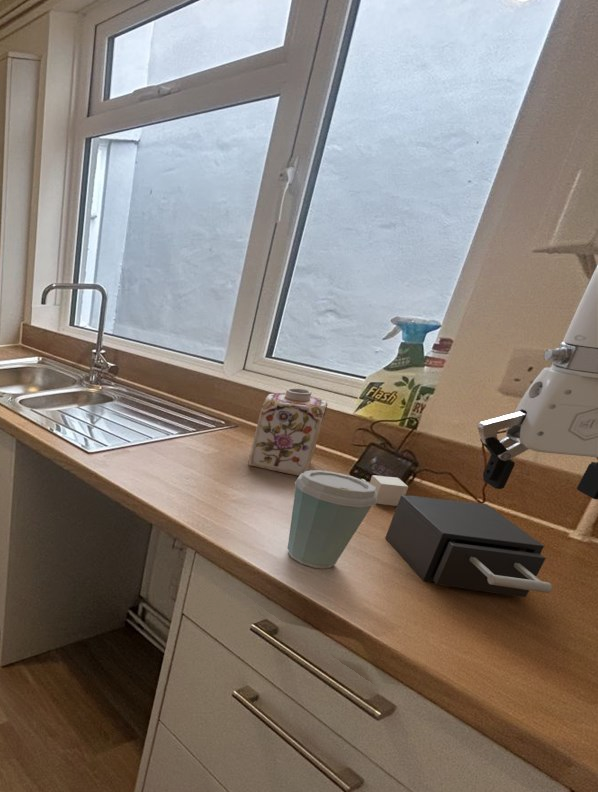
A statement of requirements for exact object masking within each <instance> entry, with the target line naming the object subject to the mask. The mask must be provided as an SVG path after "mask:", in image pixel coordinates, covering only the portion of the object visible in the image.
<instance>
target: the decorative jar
mask: <svg viewBox="0 0 598 792" xmlns="http://www.w3.org/2000/svg"><path fill="white" fill-rule="evenodd" d="M328 405H329V404H328V402H327V401H325V400H323V399H321V398H318V397H315V396H312V391H311V390H309V389H306V388H300V387H290V388H287V389H286V391H285V392H276V393H269V394H268V395H267V396H266V397H265V398H264V401H263V404H262V405H261V408H260V411H259V416H258V420H257V424H256V428H255V433H254V436H253V441H252V445H251V449H250V454H249V459H248V462H247V465H248V466H250V467H256V468H260V469H264V470H270V471H274V472H279V473H283V474H287V475H288V474H289V475H294V476H298V477H299V475H300V474H301V473H304V472H305V471H309V468H310V466H311V462H312V459H313V457H314V454H315V450H316V447H317V443H318V440H319V437H320V434H321V431H322V426H323V421H324V419H325V415H326V412H328V410H327V409H328Z"/></svg>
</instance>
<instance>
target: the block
mask: <svg viewBox="0 0 598 792" xmlns="http://www.w3.org/2000/svg"><path fill="white" fill-rule="evenodd" d="M369 483H370V484H371V485H373V486H375V487H376V490H375V491H376V492H377V493H378V495H377V502H376V505H385V506H394V507H397V505H398V502H399V500H400V497H401V495H406V494H407V491H408V489H409V486H408V485H407V484H406V483H405V482H404V481H403V480H402V479H401V478H399V477H397V476H396V477H394V476H386V475H385V476H384V475H374V474H372V475H371V478H370V480H369Z"/></svg>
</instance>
